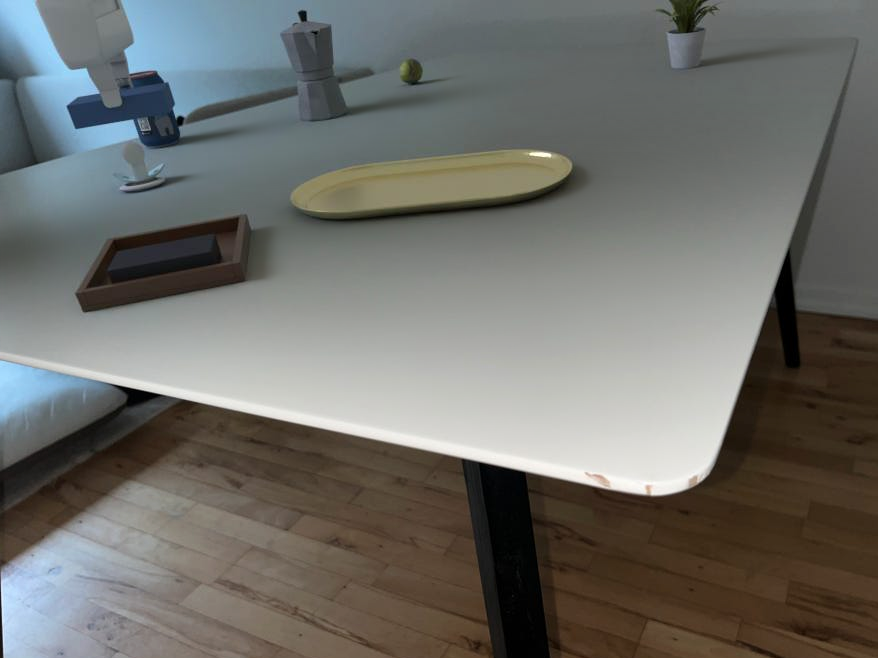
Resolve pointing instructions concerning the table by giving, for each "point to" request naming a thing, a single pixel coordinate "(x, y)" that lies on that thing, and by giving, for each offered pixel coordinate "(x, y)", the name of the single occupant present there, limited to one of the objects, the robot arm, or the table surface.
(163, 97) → the pad blue
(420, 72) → the lime
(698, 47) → the house plant
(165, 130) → the soda can
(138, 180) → the pacifier
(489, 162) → the serving platter
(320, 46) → the coffeepot
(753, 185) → the table surface
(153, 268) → the pad charcoal
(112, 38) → the robot arm
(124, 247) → the tray
